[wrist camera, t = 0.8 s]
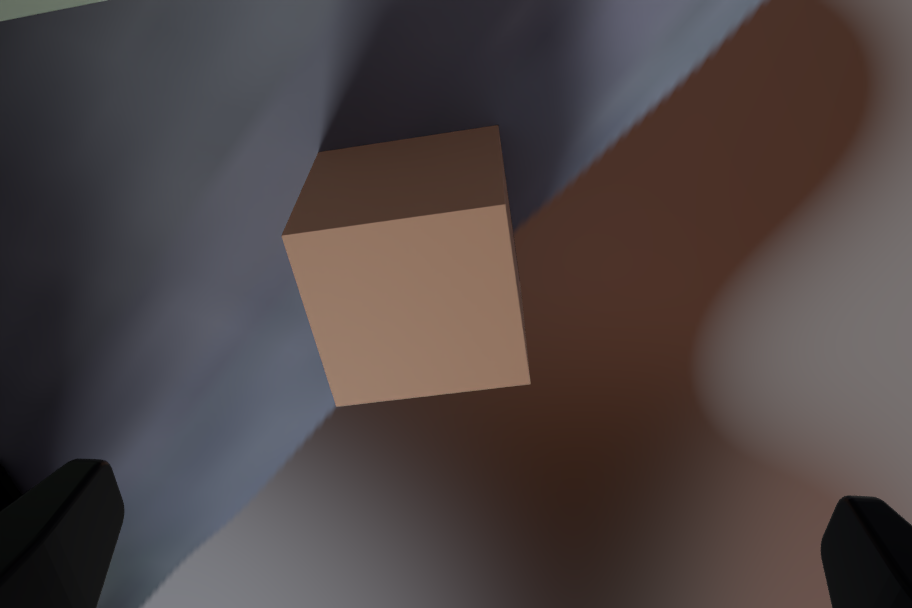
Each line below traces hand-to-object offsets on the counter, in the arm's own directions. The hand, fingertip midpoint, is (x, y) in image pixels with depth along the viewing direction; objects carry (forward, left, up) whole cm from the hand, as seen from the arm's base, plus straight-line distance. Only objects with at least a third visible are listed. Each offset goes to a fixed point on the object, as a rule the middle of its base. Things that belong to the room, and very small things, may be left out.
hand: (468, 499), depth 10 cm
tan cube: (-2, -3, -13) cm, 14 cm away
